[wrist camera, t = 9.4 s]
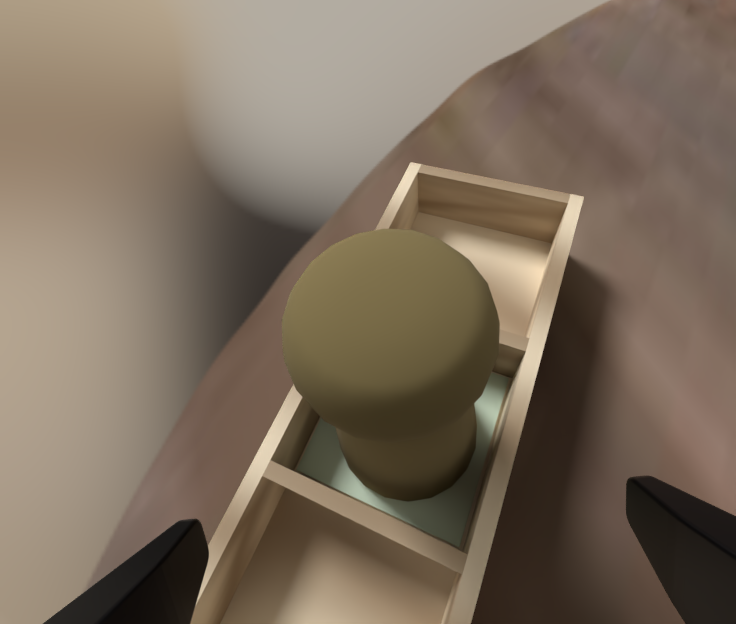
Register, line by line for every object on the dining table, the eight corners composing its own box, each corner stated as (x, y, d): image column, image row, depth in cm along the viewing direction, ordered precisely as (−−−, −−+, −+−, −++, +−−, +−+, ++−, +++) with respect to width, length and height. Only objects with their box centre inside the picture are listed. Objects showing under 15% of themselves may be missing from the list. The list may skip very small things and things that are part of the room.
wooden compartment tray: (392, 856, 13) (379, 969, 10) (176, 697, 16) (105, 740, 12) (560, 249, 23) (584, 196, 20) (413, 214, 26) (410, 162, 22)
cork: (313, 412, 19) (199, 278, 10) (418, 338, 20) (409, 153, 11) (391, 535, 16) (339, 519, 7) (507, 441, 17) (604, 314, 8)
